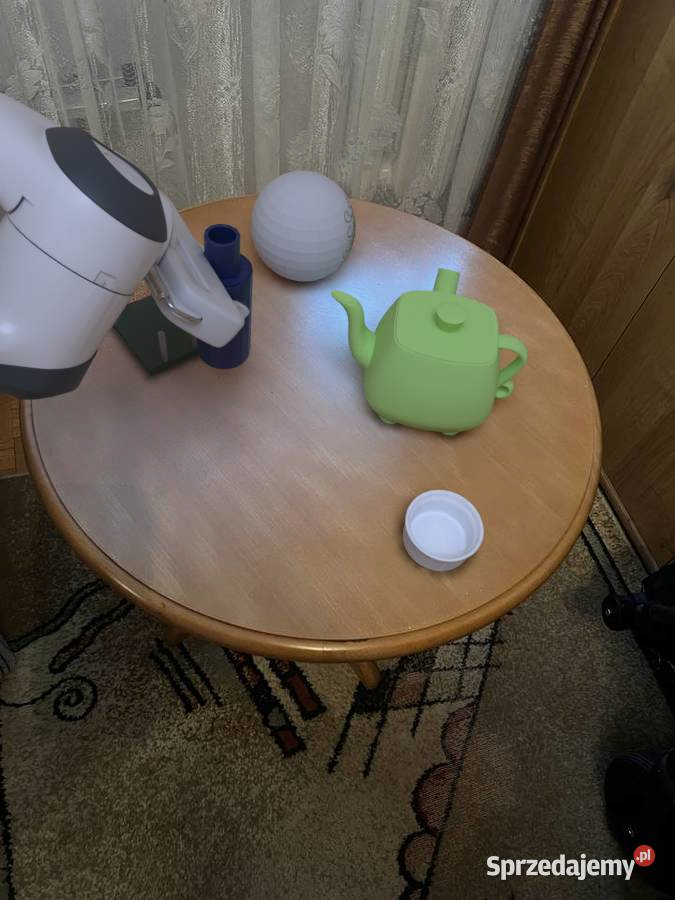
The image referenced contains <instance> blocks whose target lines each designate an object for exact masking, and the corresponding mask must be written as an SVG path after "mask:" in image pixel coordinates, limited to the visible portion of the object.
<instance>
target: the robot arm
mask: <svg viewBox="0 0 675 900" xmlns="http://www.w3.org/2000/svg"><path fill="white" fill-rule="evenodd" d="M203 252H204V246H202V244H201V243H200V242H199V241H197V239H196V238H195V237H194V236H193V234H192V232H191V230H190V228H189V227H188V226H187V223H185V221H184V219H183V217H182V216H181V214H180V213H179V211H178V210H177V208H176V206H175V205H174V203H173V202H172V200H170V198H169V197H168V196H167V195H166V194H165V193H164V192H163V191H161V190H160V189H159V188H158V187H157V186H156V185H155V183H154V182H153V181H152V180H151V178H149V177H148V175H147V174H146V173H144V172H143V170H141V169H140V168H139V167H137V166H136V165H135V164H134V163H132V161H130V159H128V158H127V157H126V156H124V155H123V154H121V153H119V152H118V151H116V150H113V149H112V148H111V147H109V146H107V145H106V144H105V143H103V142H101V141H100V140H98V139H97V138H96V137H94V136H93V135H91V134H90V133H88V132H87V131H85V130H84V129H83V128H82V127H76V126H61V125H60V124H58V123H56V122H55V121H53V120H51V119H50V118H48V117H47V116H45V115H44V114H42V113H39V111H36V110H35V109H33V108H31V107H29V106H28V105H26V104H24V103H22V102H21V101H19V100H16V99H14V98H13V97H11V96H9V95H7V94H5V93H2V92H0V393H1V394H5V395H7V396H10V397H13V398H16V399H20V400H25V401H26V400H27V401H34V400H44V399H49V398H54V397H58V396H62V395H65V394H68V393H71V392H74V391H75V390H77V388H79V386H80V385H81V383H82V381H83V379H84V377H85V376H86V374H87V373H88V370H89V368H90V366H91V365H92V363H93V361H94V359H95V358H96V356H97V353H98V350H99V347H100V346H101V345H102V343H103V341H104V340H105V339H106V337H107V336H108V334H109V332H110V331H111V330H112V328H113V325H114V324H115V322H116V321H117V319H118V318H119V316H120V315H121V313H122V312H123V310H124V309H125V307H126V306H127V304H130V301H131V300H132V298H133V297H134V295H135V293H136V292H137V291H136V290H137V289H138V288H139V286H140V285H141V283H142V282H144V283H145V285H146V288H147V289H148V292H149V293H151V294H150V295H152V296H153V298H154V300H155V302H156V304H157V306H158V307H159V309H160V311H161V312H162V313H163V314H164V315H165V317H166V318H167V319H169V320H170V321H171V322H172V323H174V324H175V325H176V326H178V327H179V328H181V329H183V330H184V331H186V332H188V333H190V334H191V335H193V336H195V337H197V338H198V339H200V340H202V341H204V342H206V343H208V344H210V345H212V346H214V347H218V348H219V347H222V346H224V345H226V344H227V343H228V342H229V341H230V340H231V339H232V338H233V337H234V336H235V335H236V334H237V333H238V332H239V331H240V329H241V328H242V327H243V325H244V319H245V318H246V317H247V316H248V315H249V312H250V311H249V310H248V308H247V306H246V305H245V303H244V302H243V301H242V300H240V299H238V298H237V297H235V296H234V298H233V299H231V297H230V296H229V294H228V292H227V291H226V289H225V287H224V286H223V284H222V283H221V281H220V279H219V278H218V276H217V274H216V273H215V271H214V270H213V268H212V266H211V265H210V263H209V261H208V260H207V258H206V257H205V255H204V253H203Z"/></svg>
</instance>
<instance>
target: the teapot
mask: <svg viewBox="0 0 675 900" xmlns="http://www.w3.org/2000/svg"><path fill="white" fill-rule="evenodd" d="M436 273H437V274H436V276H435V277H436V278H435V280H434V285H433V288H432V290H423V289H419V290H418V289H415V290H407V291H405V292H403V293H401V295H399V296H398V297H397V298H396V299H395V301H394V302H393V303H391V305H390V306H389V307H388V309H387V310H386V312H385V313H384V314H383V315H382V317H381V319H380V320H379V322H378V324H377V326H376V328H375V331H372V330H370V328H368V327H367V325H366V322H365V311H364V308H363V306H362V304H361V302H360V301H359V300H358V299H357V298H356V297H355V296H353V295H352V294H349V293H347V292H345V291H342V290H335V289H334V290H331V291H330V296H331V297H332V298H333V299H334V300H335V301H336V302H338V304H340V306H342V308H343V309H344V311H345V312H346V316H347V321H348V322H347V323H348V325H347V326H348V327H347V340H348V342H347V343H348V347H349V351H350V353H351V355H352V357H353V359H354V360H355V361H356V363H357V364H359V365H360V366H361V367H362V368H363V369H364V374H363V387H364V390H363V392H364V395H365V398H366V401H367V403H368V405H369V406H370V408H371V409H372V411H374V412H375V413H376V414H378V417H379V418H380V420H381V421H383V423H385V424H389V425H396V424H400V425H403V426H406V427H409V428H413V429H418V430H421V431H429V432H440V433H442V434H443V435H447V436H455V435H457V434H458V433H459V432H465V431H469V430H472V429H475V428H476V427H479V426H480V425H482V424H483V423H484V422H485V421H487V419H488V417H489V416H490V413H491V412H492V409H493V406H494V404H495V400H496V399H507V398H508V397H510V396H511V395H512V393H513V392H514V390H515V389H514V388H515V384H514V381H513V380H512V378H514V377H515V376H517V374H519V373H520V372H521V371H522V370H523V369H524V367H525V366H526V364H527V362H528V359H529V353H528V352H529V351H528V347H527V345H526V344H525V343H524V342H523V341H522V340H521V339H519V338H518V337H516V336H514V335H511V334H506V333H505V334H503V333H500V331H499V320H498V317H497V313H496V311H495V310H494V309H493V308H492V307H490V306H489V305H487V304H485V303H483V302H480V301H479V300H475V299H473V298H470V297H466V296H462V295H458V294H457V290H458V287H459V286H458V285H459V281H460V276H461V272H460V271H456V270H452V269H447V268H441V267H439V268H438V270H437V272H436ZM501 350H507V351H511V352H513V353H515V354H516V355H517V356H516V357H515V359H513V360H512V362H510V363H509V364H508V365H506V366H504V367H503V368H502V369H500V367H501Z"/></svg>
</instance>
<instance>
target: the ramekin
mask: <svg viewBox="0 0 675 900" xmlns="http://www.w3.org/2000/svg"><path fill="white" fill-rule="evenodd" d="M404 517H405V518H404V524H403V528H402V542H403V546H404V548H405V550H406V552H407V554H408V556H409V557H410V558H411V560H413V561H414V562H415V563H416V564H418V565H419V566H421V567H423V568H425V569H427V570H430V571H434V572H449V571H452V570H453V569H456V568H458V567H460V566H461V565H462V564H463V563H465V561H466V560H467V559H468V558H470V557H472V556H473V555H474V554H475V553H476V552H478V550H479V549H480V547H481V545H482V543H483V540H484V535H485V529H484V523H483V520H482V517H481V515H480V514H479V511H478V510H477V509H476V507H475V506H474V505H473V504H472V503H471V502H470V501H469V500H468V499H467V498H465V497H464V496H462V495H460V494H458V493H456V492H454V491H451V490H446V489H431V490H428V491H427V490H426V491H424V492H423V493H420V494H419V495H417V496H416V497H414V498H413V499H412V501H411V502H410V504H409V505H408V507H407V509H406V512H405V516H404Z"/></svg>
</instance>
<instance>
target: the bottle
mask: <svg viewBox="0 0 675 900" xmlns="http://www.w3.org/2000/svg"><path fill="white" fill-rule="evenodd" d="M203 248H204V252H203V253H204V255H205V257H206V258H207V260H208V261H209V263H210V265H211V266H212V268H213V270H214V271H215V273H216V274H217V276H218V278H219V279H220V281H221V283H222V284H223V286H224V287H225V289H226V291H227V292H228V294H229V296H230V297H231V299H233V298H234V296H235V297H237V298H238V299H240V300H242V301H243V302H244V303H245V305H246V306H247V308H248V310H249V311H250V312H249V315H248V316H247V317H246V318H245V319H244V325H243V327H242V328H241V329H240V331H239V332H238V333H237V334H236V335H235V336H234V337H233V338H232V339H231V340H230V341H229V342H228V343H227V344H226V345H224V346H222V347H219V348H218V347H214V346H212V345H210V344H208V343H206V342H204V341H202V340H200V339H198V338H197V337H196V343H197V352H198V355H197V356H198V357H199V359H200V360H201V361H202V363H204V364H205V365H206V366H208V367H210V368H213V369H217V370H232V369H235V368H238V367H240V366H242V365H243V364H244V363H245V362H247V360H248V358H249V356H250V351H251V341H252V339H251V338H252V309H253V285H254V284H253V281H254V280H253V279H254V270H253V265H252V262H251V261H250V260H249V259H248V257H246V255H244V254H242V253H241V233H240V232H239V230H238V228H236V227H234V226H232V225H230V224H226V223H216V224H211V225H209V226H208V227H207V228H206V229H205V230H204V232H203Z"/></svg>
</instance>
